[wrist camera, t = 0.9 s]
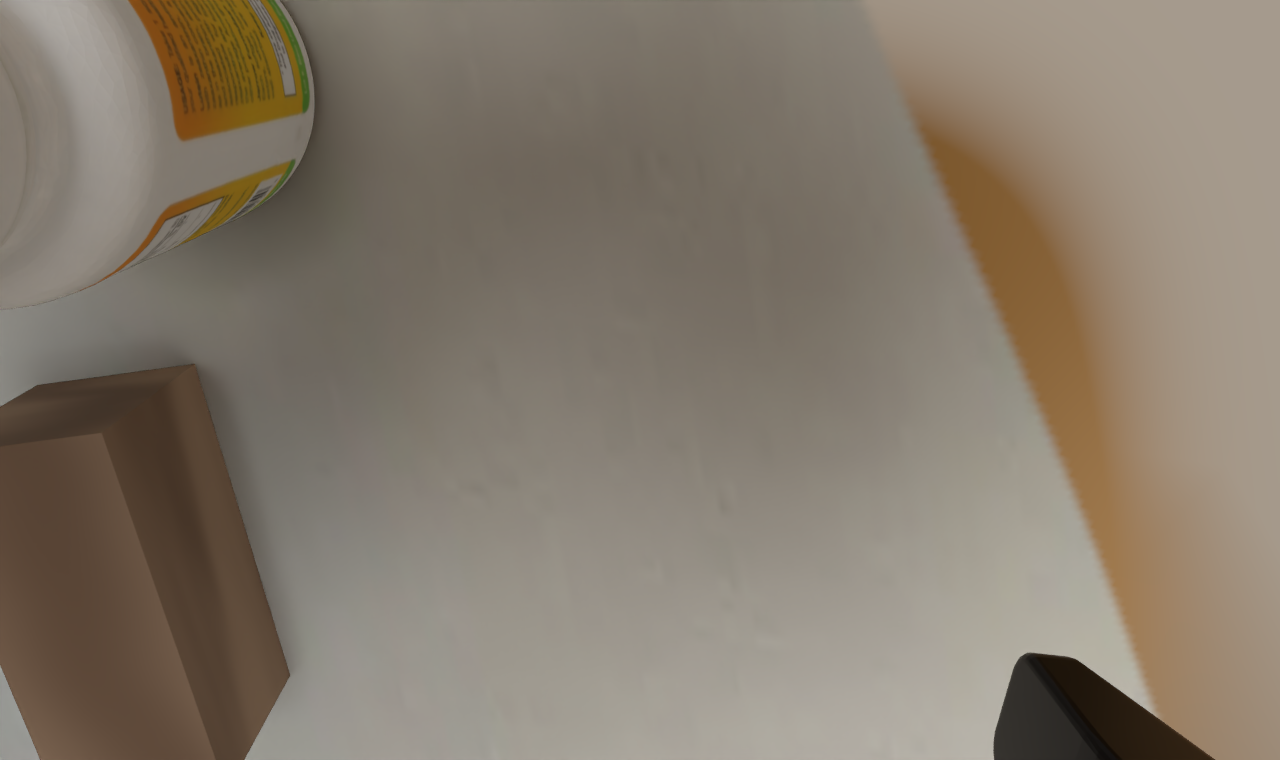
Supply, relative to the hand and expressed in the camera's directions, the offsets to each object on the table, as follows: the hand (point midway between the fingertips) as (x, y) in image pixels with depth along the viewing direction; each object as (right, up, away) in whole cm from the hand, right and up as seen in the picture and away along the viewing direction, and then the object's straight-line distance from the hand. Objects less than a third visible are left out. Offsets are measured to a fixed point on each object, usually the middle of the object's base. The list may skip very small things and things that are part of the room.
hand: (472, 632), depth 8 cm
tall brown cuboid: (-9, -1, +14) cm, 17 cm away
